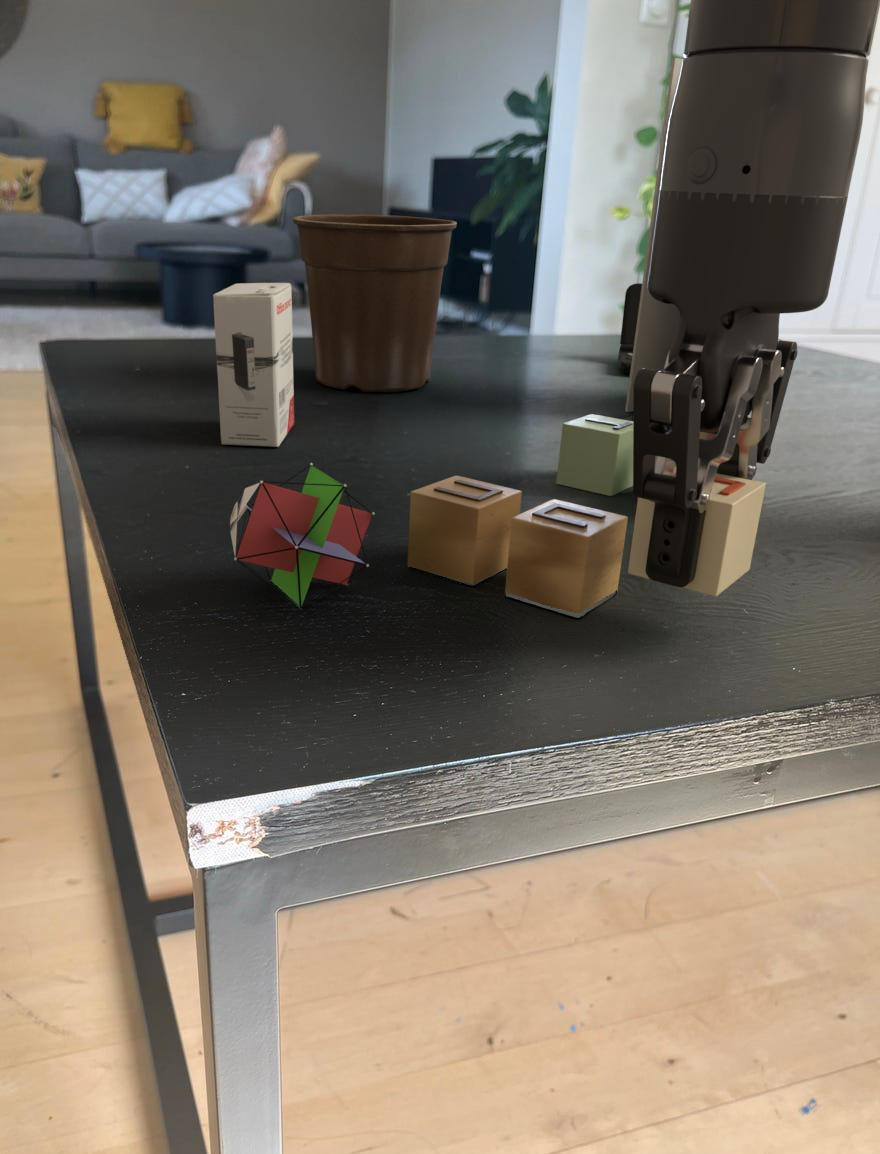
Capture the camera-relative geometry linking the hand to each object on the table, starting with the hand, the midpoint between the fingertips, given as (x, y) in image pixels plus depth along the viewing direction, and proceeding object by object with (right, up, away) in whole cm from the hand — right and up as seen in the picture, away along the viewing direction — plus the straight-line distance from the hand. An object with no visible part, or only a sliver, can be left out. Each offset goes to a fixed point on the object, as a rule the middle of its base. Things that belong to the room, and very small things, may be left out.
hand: (690, 564), depth 48 cm
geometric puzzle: (-19, -1, +4) cm, 20 cm away
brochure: (+15, +19, +50) cm, 56 cm away
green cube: (0, +8, +25) cm, 26 cm away
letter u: (-6, -1, +5) cm, 8 cm away
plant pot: (-17, +24, +57) cm, 64 cm away
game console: (+20, +29, +71) cm, 79 cm away
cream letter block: (0, 0, 0) cm, 0 cm away
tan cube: (-11, +1, +8) cm, 14 cm away
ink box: (-26, +13, +34) cm, 45 cm away
